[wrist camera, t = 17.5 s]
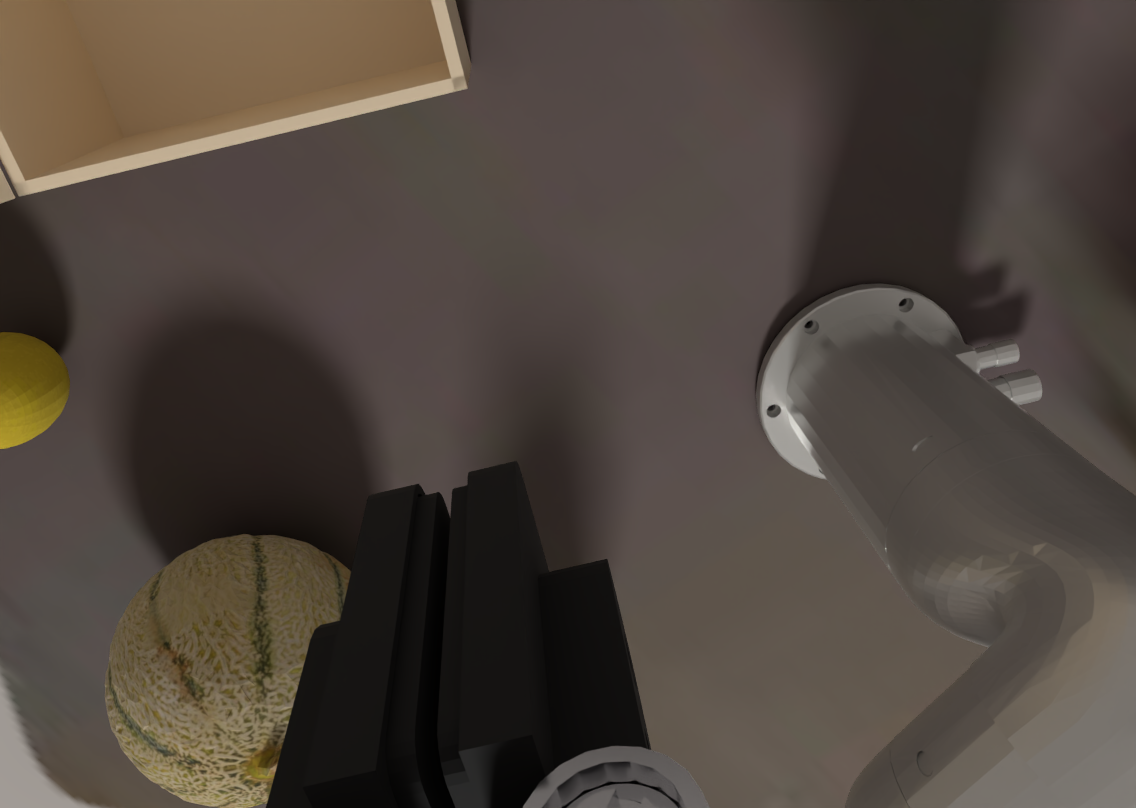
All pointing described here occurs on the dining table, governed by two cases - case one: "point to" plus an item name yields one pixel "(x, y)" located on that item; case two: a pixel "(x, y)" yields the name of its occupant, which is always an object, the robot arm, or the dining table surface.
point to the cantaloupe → (219, 663)
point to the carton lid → (5, 189)
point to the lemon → (29, 387)
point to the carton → (203, 75)
